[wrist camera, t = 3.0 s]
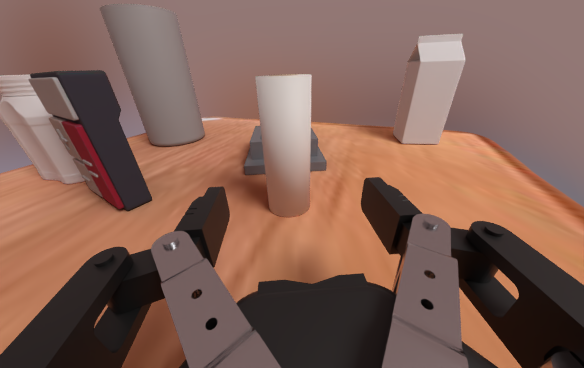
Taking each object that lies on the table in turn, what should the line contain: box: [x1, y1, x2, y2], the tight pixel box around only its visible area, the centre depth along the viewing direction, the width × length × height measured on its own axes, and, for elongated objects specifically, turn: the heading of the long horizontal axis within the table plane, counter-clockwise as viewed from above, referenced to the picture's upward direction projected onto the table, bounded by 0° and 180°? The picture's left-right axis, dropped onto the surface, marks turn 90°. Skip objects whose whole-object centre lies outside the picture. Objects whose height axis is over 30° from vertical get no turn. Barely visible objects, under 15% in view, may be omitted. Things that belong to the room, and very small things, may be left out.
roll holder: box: [244, 126, 326, 175], centre depth 39 cm, size 13×16×4 cm
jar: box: [0, 75, 85, 184], centre depth 33 cm, size 12×10×15 cm
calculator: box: [28, 70, 152, 211], centre depth 25 cm, size 11×4×15 cm, turn 57°
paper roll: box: [256, 74, 311, 217], centre depth 22 cm, size 5×5×14 cm
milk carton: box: [393, 34, 466, 144], centre depth 41 cm, size 7×7×19 cm
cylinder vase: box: [100, 4, 205, 146], centre depth 46 cm, size 12×12×25 cm
